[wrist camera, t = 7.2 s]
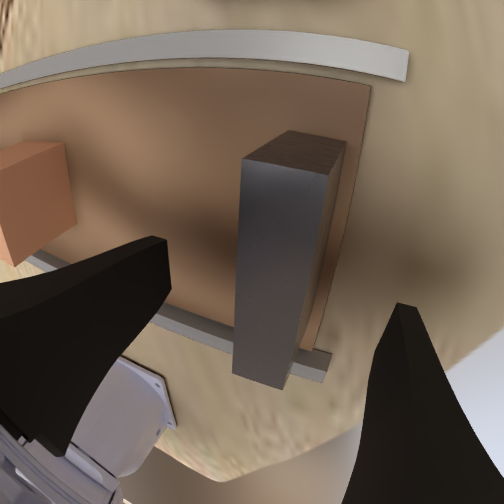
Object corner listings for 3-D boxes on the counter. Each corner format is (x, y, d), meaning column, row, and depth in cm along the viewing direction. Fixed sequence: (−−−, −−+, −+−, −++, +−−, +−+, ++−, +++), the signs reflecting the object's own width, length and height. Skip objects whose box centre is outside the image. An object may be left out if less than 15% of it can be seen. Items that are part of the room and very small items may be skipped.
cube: (77, 223, 17) (14, 267, 13) (34, 209, 19) (-20, 244, 15) (64, 142, 14) (-12, 176, 11) (22, 141, 16) (-41, 169, 12)
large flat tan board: (313, 344, 16) (287, 418, 12) (22, 235, 22) (-17, 262, 19) (370, 85, 9) (365, 88, 5) (-3, 94, 16) (-53, 112, 12)
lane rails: (327, 365, 16) (322, 383, 15) (-18, 224, 26) (-26, 229, 25) (405, 53, 8) (409, 50, 7) (-43, 94, 18) (-52, 97, 17)
